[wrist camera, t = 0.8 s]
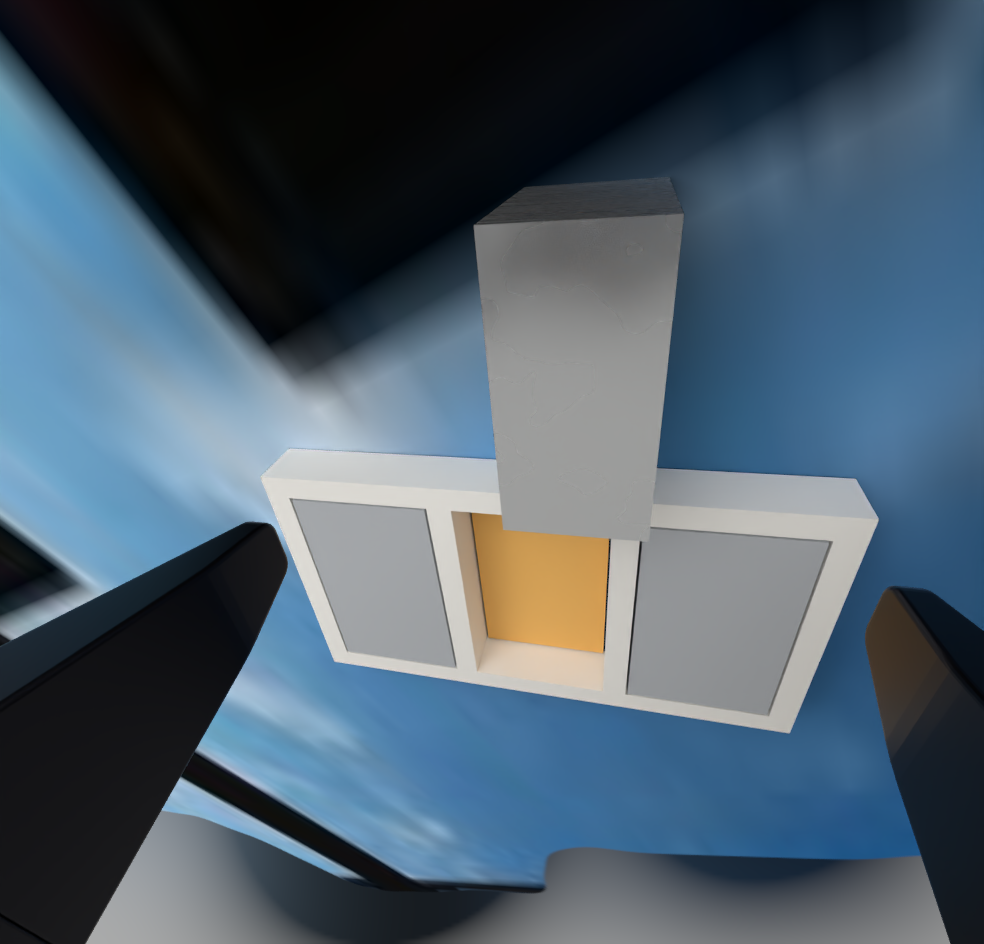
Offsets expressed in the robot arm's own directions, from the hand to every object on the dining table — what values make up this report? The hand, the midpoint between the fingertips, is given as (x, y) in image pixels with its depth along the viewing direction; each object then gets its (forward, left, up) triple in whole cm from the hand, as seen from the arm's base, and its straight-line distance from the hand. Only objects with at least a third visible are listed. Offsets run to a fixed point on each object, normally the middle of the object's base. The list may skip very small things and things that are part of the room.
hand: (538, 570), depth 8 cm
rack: (+2, +12, -11) cm, 16 cm away
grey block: (0, 0, -12) cm, 12 cm away
